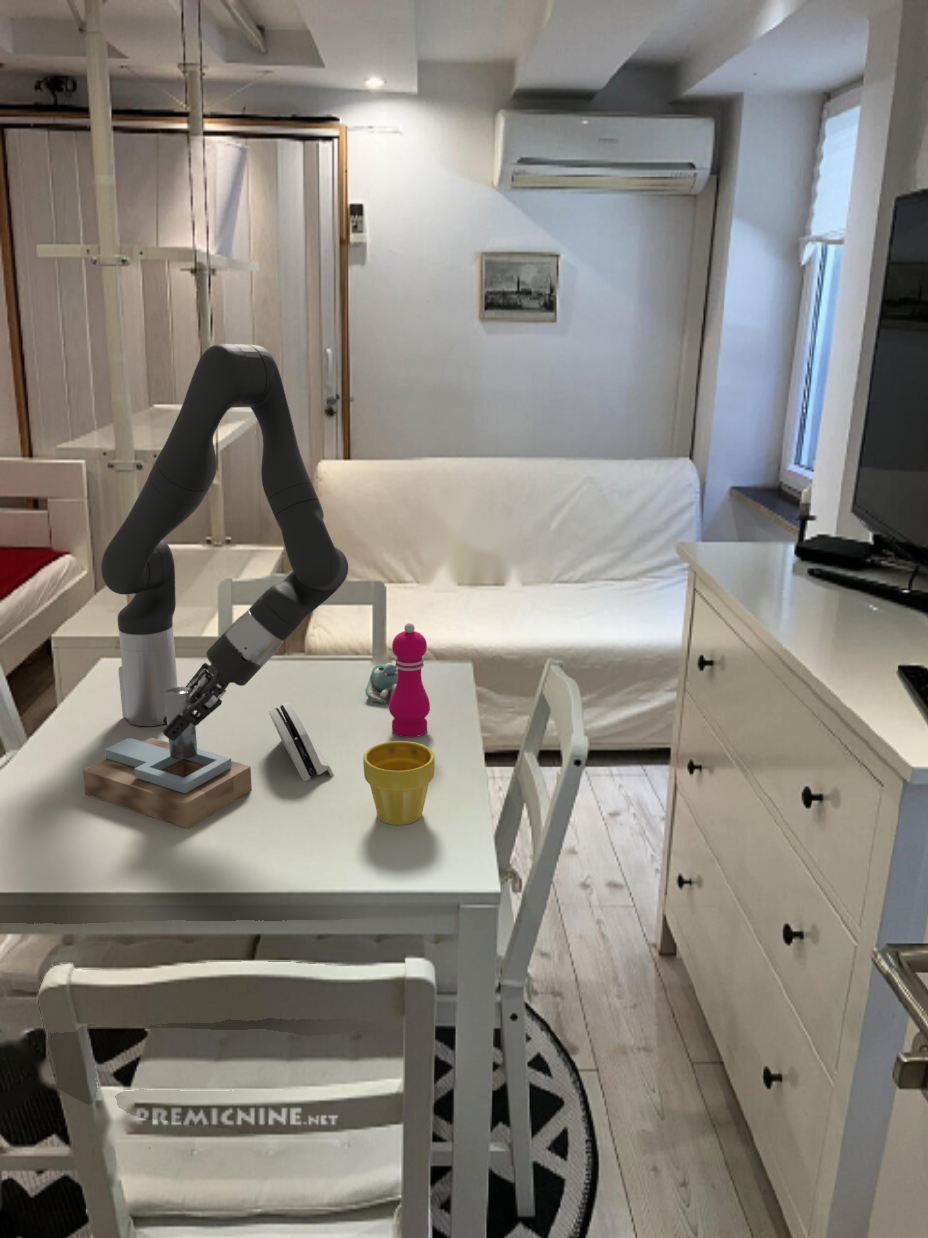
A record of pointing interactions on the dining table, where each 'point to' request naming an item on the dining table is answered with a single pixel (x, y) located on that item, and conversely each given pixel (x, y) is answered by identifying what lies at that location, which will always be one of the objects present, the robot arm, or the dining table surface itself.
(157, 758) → the link
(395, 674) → the stuffed animal
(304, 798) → the dining table surface
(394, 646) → the pepper mill
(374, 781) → the plant pot
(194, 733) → the pin
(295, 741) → the white game console
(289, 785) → the dining table surface
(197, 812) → the wooden block
